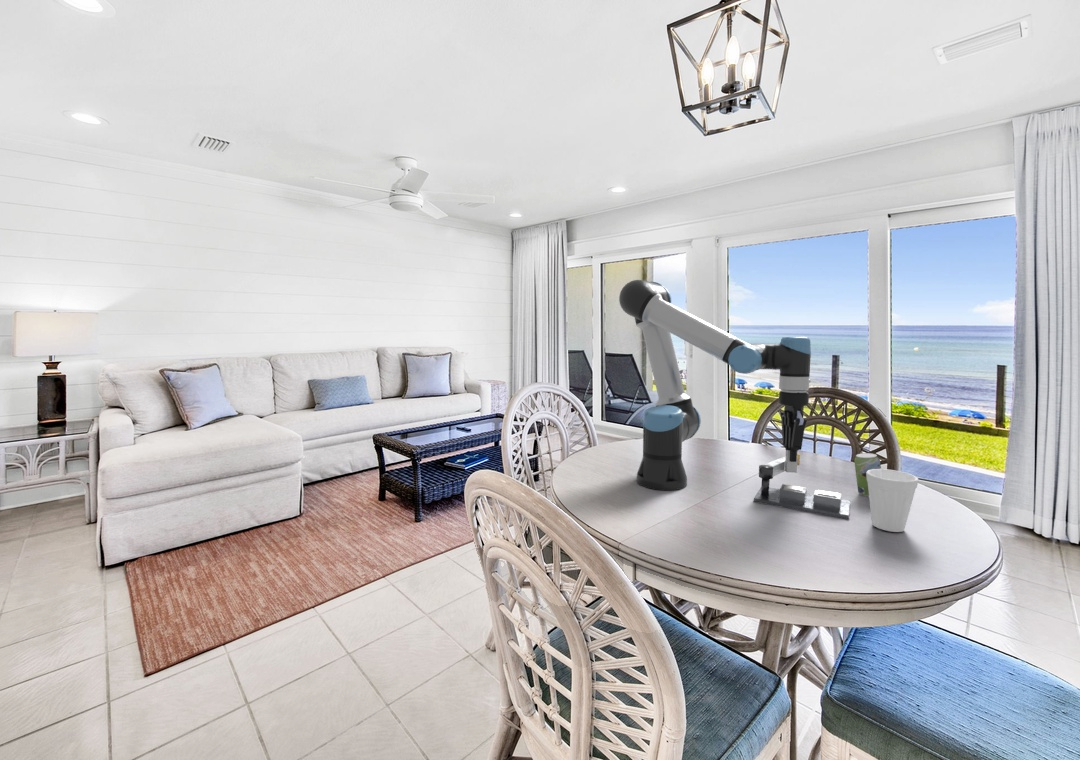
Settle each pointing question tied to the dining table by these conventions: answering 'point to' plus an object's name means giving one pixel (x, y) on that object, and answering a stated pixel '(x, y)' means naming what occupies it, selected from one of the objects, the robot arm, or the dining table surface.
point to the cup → (890, 498)
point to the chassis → (803, 500)
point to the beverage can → (865, 470)
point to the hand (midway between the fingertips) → (790, 471)
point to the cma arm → (774, 468)
